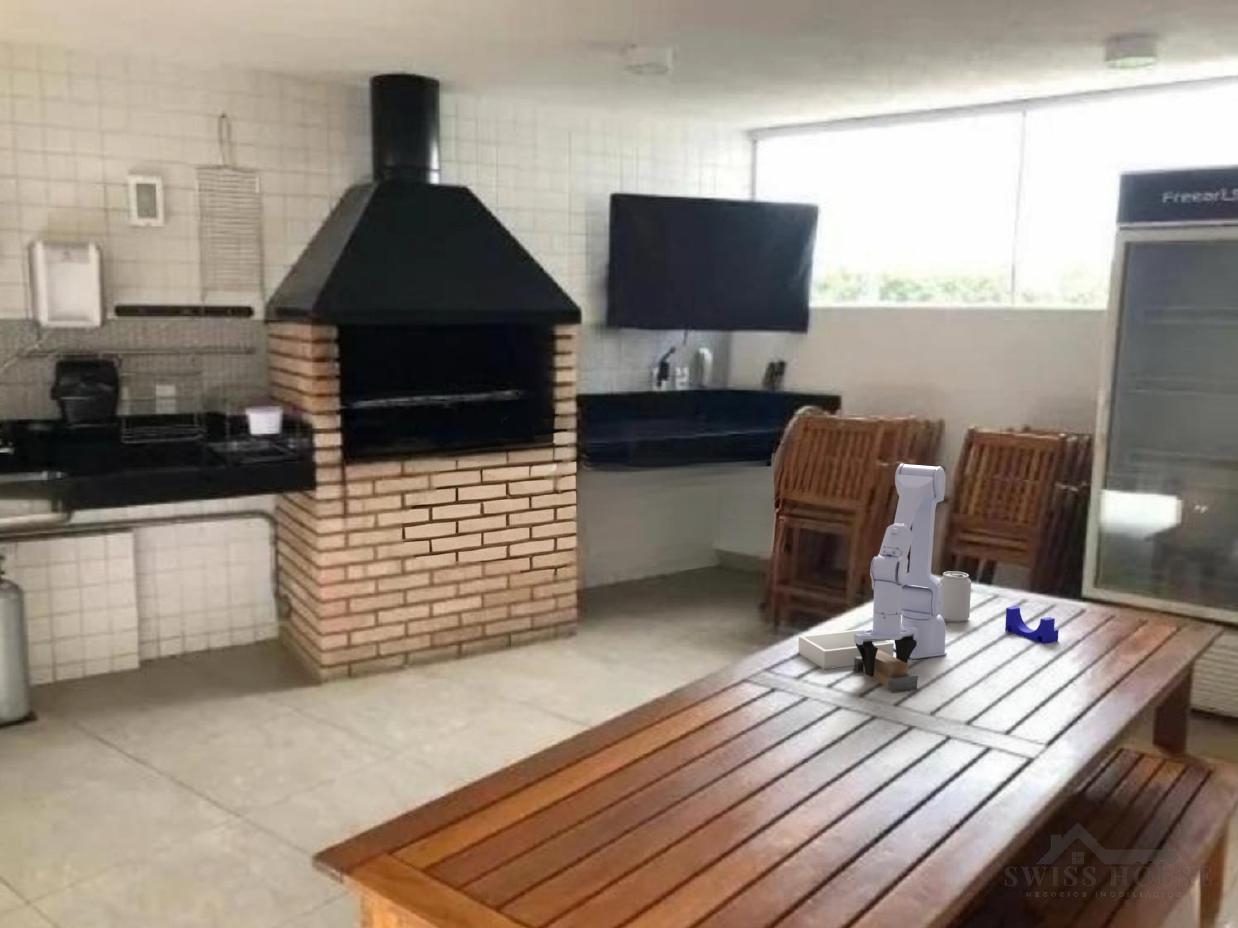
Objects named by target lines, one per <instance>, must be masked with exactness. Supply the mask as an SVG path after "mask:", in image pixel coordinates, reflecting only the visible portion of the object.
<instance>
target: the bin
mask: <svg viewBox="0 0 1238 928" xmlns="http://www.w3.org/2000/svg"><path fill="white" fill-rule="evenodd" d="M867 630H868V629H867V628H862V629H861V628H860V629H853V630H851V629H850V630H844V631H834V632H826V633H825V632H824V633H815V634H807V635H799V636H798V654H799V655H801V656H802V657H804V658H805V659H807V660H809V661H811V662H812V663H814V664H815V665H817V666H819V667H820V668H822V669H823V668H824V669H823V670H825V669H827V668H828V669H833V668H832V667H836V668H840V667H841V668H842V667H843V666H844V667H850V666H851V667H852V666H854V657H858V656H861V654H860V652H859V650H858V648H857V646H856V643H855V642H854V634H855V633H860V632H864V631H867ZM872 644H874V646H875V647H877V648H878V650H881V651H883V652H885V653H887V654H889V655H891V656H893V657H894V649H893V647H895V642H892V641H891V640H887V641H878V642H873V643H872ZM828 669H827V670H828Z"/></svg>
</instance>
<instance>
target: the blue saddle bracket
mask: <svg viewBox="0 0 1238 928" xmlns="http://www.w3.org/2000/svg"><path fill="white" fill-rule="evenodd" d="M1055 620H1056V619H1055V618H1054V617H1050V616H1049V617H1048V616H1047V617H1044V618H1043V617H1042V618H1040V621H1039V624H1038V626H1037V628H1036V629H1032V628H1030V627H1028V626H1027V625H1026V623H1025V622H1024V620H1023V618H1022V614H1021V608H1020V607H1019V606H1010V607H1006V609H1005V627H1004V628H1005V629H1004V630H1005V631H1006V632H1008V633H1011V634H1014V635H1016V636H1019V637H1022V638H1025V639H1029V640H1031V641H1034V642H1037V643H1039V644H1042V645H1047V644H1052V643H1057V642H1059V629H1057V628H1055V625H1056V624H1055V622H1056V621H1055Z"/></svg>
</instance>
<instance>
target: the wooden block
mask: <svg viewBox="0 0 1238 928" xmlns="http://www.w3.org/2000/svg"><path fill="white" fill-rule="evenodd" d="M908 669H909V663H908V662H907V663H905V662H903V661H901V660H899V659H897V658H896V656H894V655H893V656H891V655H889V654H887V653H885V652H883V651H881V650H878V651H877V654H876V658H875V667H874V676H873V677H870V676H868V675H867V674H866V673H865V668H864V667H863V672H862V673H863V674H864V675H865V676H867V677H869V678H871V679H872V680H874V681H876V682H878V683H880V684H882V685H883V686H886V687H887V688H888V678H889V676H895V675H903V674H909V673H908V671H909V670H908Z"/></svg>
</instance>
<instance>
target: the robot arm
mask: <svg viewBox="0 0 1238 928" xmlns="http://www.w3.org/2000/svg"><path fill="white" fill-rule="evenodd" d="M946 476H947V475H946V471H945V470H944V467H942V466H939V465H938V466H932V465H931V466H930V465H922V464H921V465H918V464H907V463H906V464H905V463H900V464H899V465H898V466H897V468H896V471H895V475H894V485H895V487H896V493H897V495H898V496H899V497H898V501H897V506H896V507H897V508H896V511H895V516H894V517H895V518H894V522H893V524H890V525H889V526H888V527H886V529H885V533H884V535H883V540H882V542H881V546H880V550H879V553H878V554H877V556H874V557H873V558H872V560H871V562H870V563H871V564H870V569H869V571H870V572H869V574H870V575H869V576H870V579H871V589H872V590H873V613H872V615H873V616H872V628H870V629H867V631H864V632H860V633H855V634H854V642H855V643H856V646H857V648H858V650H859V652H860V654H861V657H862V660H863V664H864V668H865V673H866V674H867V675H868V676H867V675H866V676H867V677H869V676H870V677H869V678H871V677H873V676H874V667H875V658H876V654H877V651H878V648H877V647H875V646H874V644H872V643H873V642H878V641H887V640H888V641H894V647H893V651H895V658H897V659H899V660H901V661H903V662H905V663H907V664H908V661H909V659H912V660H915V659H916V660H917V659H923V658H932V657H939V656H940V657H942V656H947V654H948V652H946V651H945V650H946V631H947V629H946V628H947V627H946V622H945V620H944V619H943V618H942V616H941V615H939V614H940V613H941V611H942V608H943V586H942V583H941V582H940V579H938V578H937V577H936V576H935V575H933V573H932V561H933V547H934V534H935V522H936V521H935V517H936V509H937V508H936V507H937V504H938V503H941V502H943V501H944V500H945V495H946V483H947V482H946V481H947V477H946ZM909 552H910V555H909ZM908 555H909V559H908ZM908 564H909V569H908Z"/></svg>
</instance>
